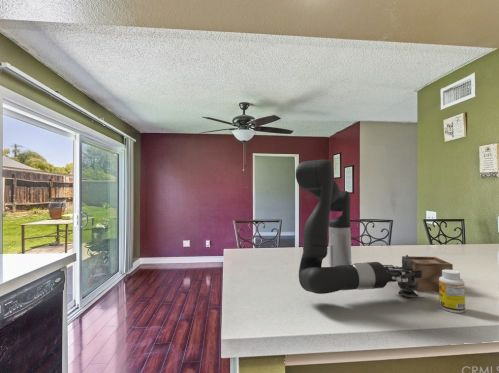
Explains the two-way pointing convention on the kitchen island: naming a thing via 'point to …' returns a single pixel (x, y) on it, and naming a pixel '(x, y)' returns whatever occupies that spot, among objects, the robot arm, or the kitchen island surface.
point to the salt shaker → (410, 288)
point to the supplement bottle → (452, 291)
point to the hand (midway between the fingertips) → (415, 271)
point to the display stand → (429, 272)
